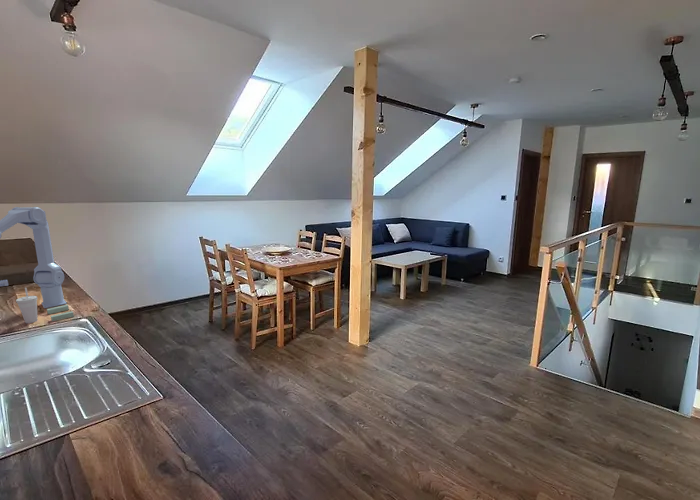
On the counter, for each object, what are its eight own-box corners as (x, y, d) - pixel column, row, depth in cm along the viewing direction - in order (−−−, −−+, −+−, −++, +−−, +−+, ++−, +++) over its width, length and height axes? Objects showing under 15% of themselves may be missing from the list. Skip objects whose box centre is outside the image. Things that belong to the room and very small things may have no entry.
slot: (47, 313, 155) (46, 309, 155) (68, 308, 160) (67, 304, 160) (52, 321, 146) (51, 317, 146) (73, 316, 151) (73, 312, 151)
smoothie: (29, 325, 143) (22, 290, 140) (16, 324, 144) (8, 289, 142) (46, 318, 149) (39, 285, 146) (33, 317, 151) (26, 284, 148)
